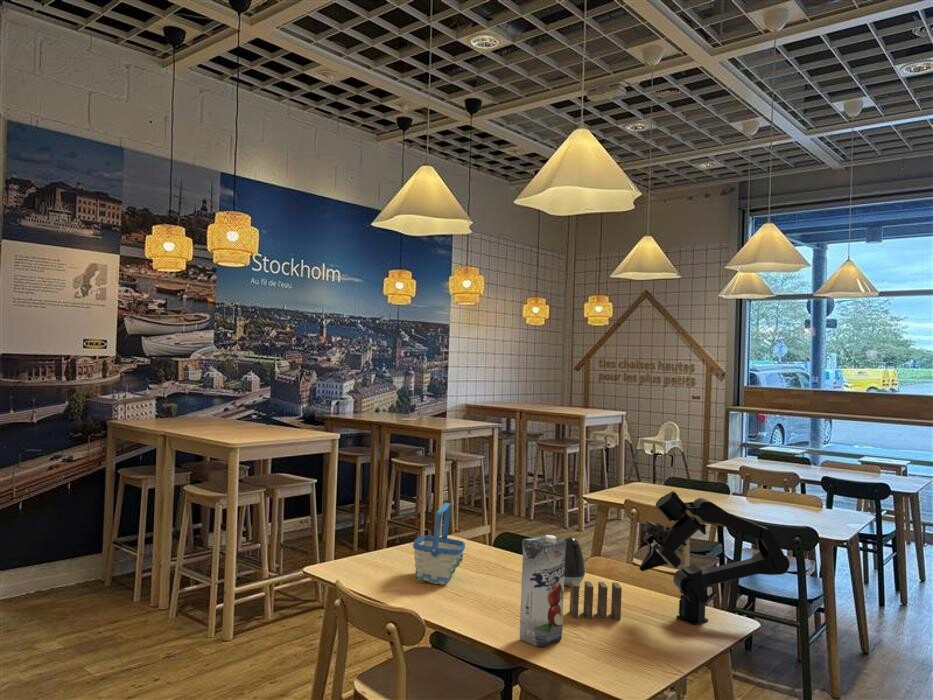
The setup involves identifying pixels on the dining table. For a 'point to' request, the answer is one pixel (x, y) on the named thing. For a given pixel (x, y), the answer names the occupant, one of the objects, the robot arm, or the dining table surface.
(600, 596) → the domino
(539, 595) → the juice carton
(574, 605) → the domino
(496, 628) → the dining table surface
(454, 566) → the basket
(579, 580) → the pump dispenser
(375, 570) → the dining table surface
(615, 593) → the domino
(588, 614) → the domino
